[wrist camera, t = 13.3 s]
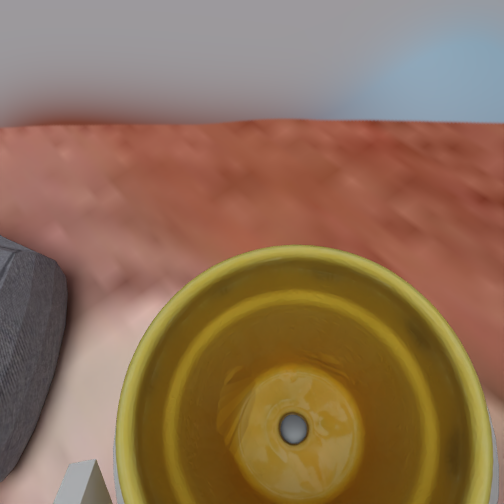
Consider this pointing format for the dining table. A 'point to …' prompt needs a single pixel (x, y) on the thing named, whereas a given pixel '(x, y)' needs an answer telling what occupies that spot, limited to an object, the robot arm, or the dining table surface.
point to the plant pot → (302, 390)
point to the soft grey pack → (27, 342)
